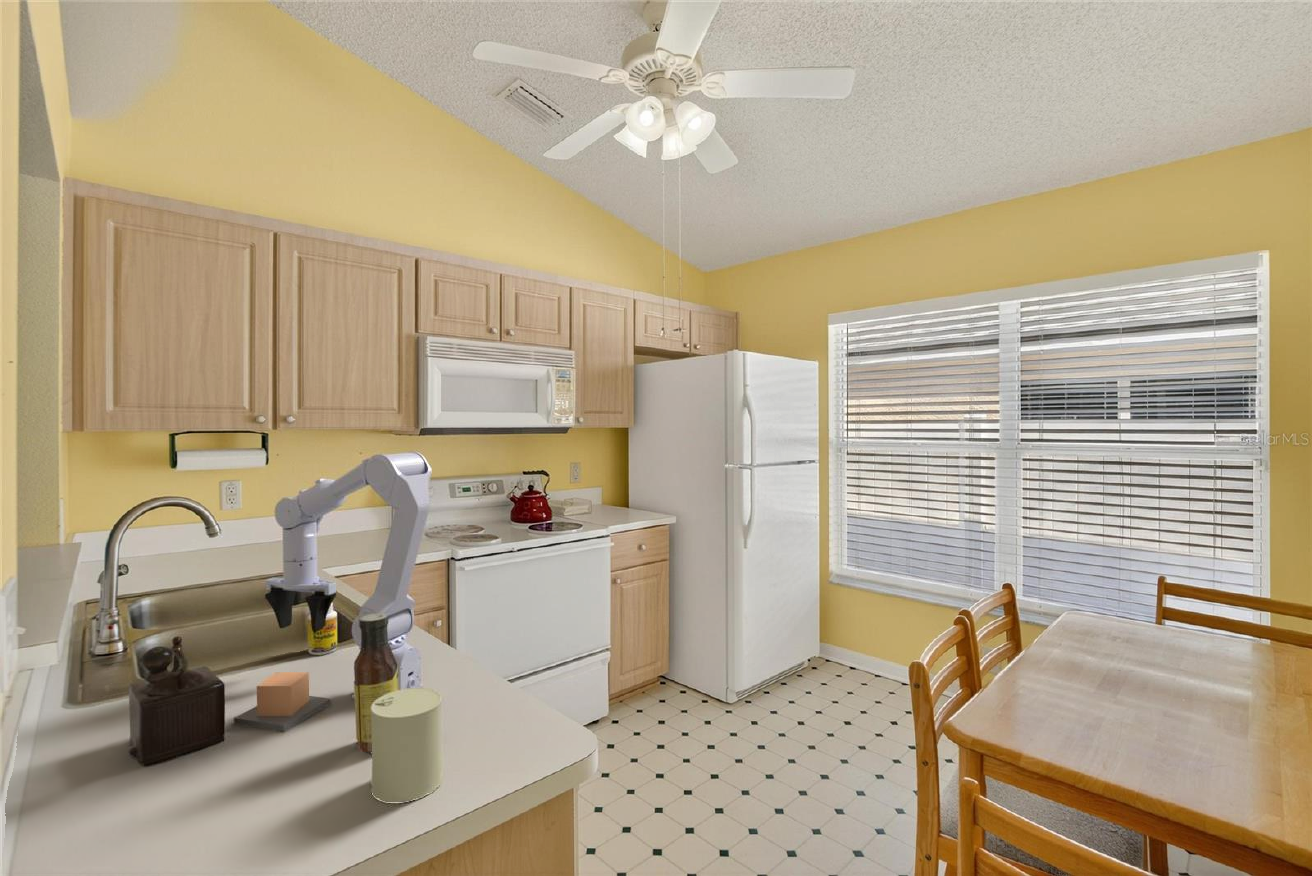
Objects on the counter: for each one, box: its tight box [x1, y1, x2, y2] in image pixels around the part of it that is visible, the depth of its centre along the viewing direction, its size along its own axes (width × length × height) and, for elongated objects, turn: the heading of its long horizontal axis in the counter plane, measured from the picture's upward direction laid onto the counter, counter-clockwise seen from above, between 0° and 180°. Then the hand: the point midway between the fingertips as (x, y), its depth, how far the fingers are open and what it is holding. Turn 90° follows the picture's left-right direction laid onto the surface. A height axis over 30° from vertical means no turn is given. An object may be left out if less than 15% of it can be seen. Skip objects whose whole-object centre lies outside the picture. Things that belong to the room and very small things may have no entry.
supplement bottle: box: [307, 602, 338, 656], centre depth 136 cm, size 6×6×10 cm
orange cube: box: [256, 671, 310, 716], centre depth 108 cm, size 6×6×5 cm
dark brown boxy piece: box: [128, 636, 226, 767], centre depth 96 cm, size 16×11×18 cm
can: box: [370, 687, 444, 802], centre depth 88 cm, size 9×9×12 cm
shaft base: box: [233, 695, 332, 732], centre depth 108 cm, size 10×10×4 cm
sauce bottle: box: [353, 613, 399, 753], centre depth 98 cm, size 6×6×20 cm
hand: (301, 628), depth 123 cm, fingers open, 7 cm apart
